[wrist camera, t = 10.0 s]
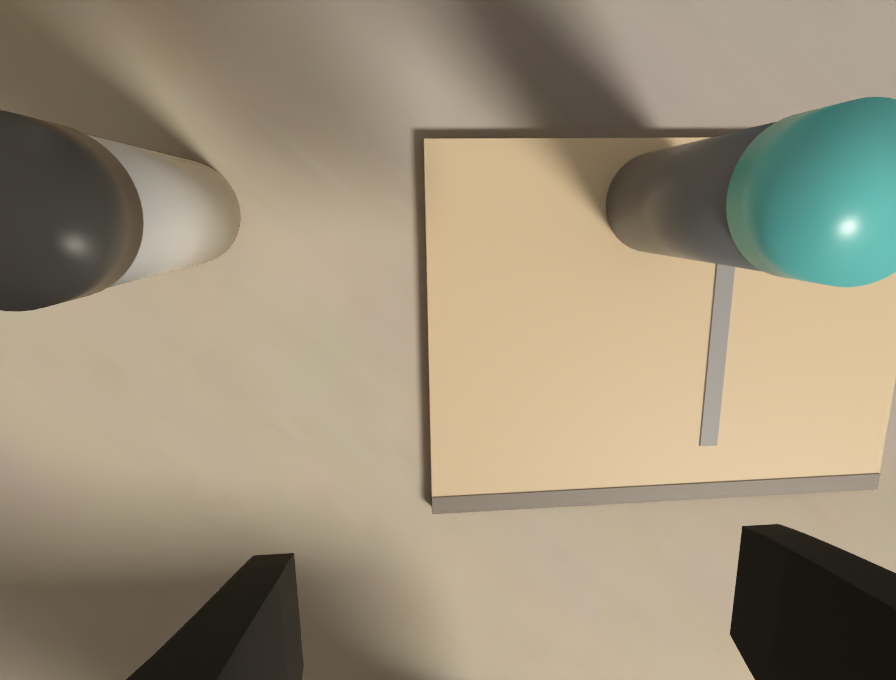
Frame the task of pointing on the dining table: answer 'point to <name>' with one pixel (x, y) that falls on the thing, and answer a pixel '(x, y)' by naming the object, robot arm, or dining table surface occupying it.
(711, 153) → the cylinder
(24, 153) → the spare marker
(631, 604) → the dining table surface
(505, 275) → the notepad
